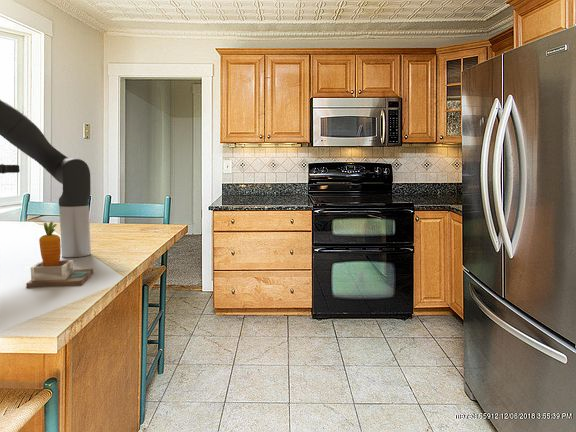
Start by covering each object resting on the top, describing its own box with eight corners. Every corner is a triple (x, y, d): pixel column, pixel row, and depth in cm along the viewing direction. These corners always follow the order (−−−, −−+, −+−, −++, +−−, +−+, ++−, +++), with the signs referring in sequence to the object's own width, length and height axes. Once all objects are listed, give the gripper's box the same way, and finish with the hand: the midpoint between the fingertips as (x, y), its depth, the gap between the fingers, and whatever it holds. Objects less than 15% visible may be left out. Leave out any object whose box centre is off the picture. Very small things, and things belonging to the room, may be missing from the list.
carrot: (42, 275, 123) (38, 220, 121) (62, 273, 125) (58, 219, 123) (41, 279, 118) (37, 222, 117) (63, 277, 121) (59, 221, 119)
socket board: (44, 274, 129) (43, 258, 128) (93, 272, 131) (92, 256, 131) (26, 287, 115) (25, 269, 114) (81, 285, 117) (80, 267, 117)
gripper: (-70, 154, 114) (1, 154, 117) (-41, 155, 128) (22, 155, 131) (-68, 183, 115) (3, 183, 118) (-39, 181, 129) (23, 181, 132)
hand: (13, 168), depth 124 cm, fingers open, 8 cm apart
